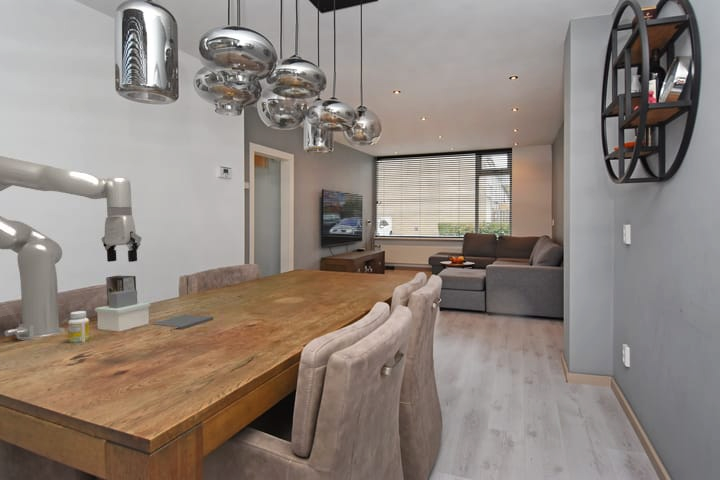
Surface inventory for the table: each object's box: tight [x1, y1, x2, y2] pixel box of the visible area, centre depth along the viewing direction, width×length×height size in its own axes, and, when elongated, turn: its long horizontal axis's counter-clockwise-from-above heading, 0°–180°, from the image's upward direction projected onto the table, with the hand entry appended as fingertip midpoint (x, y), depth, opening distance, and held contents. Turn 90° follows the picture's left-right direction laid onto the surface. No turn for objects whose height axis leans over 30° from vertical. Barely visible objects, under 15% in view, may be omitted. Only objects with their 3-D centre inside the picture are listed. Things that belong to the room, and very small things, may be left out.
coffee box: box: [105, 275, 137, 306], centre depth 164 cm, size 9×6×16 cm
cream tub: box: [96, 307, 150, 332], centre depth 144 cm, size 12×10×7 cm
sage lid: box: [94, 289, 151, 313], centre depth 144 cm, size 13×11×7 cm
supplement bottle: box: [67, 310, 90, 344], centre depth 126 cm, size 5×5×10 cm
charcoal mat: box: [150, 313, 214, 331], centre depth 152 cm, size 16×14×1 cm
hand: (122, 261), depth 145 cm, fingers open, 9 cm apart
